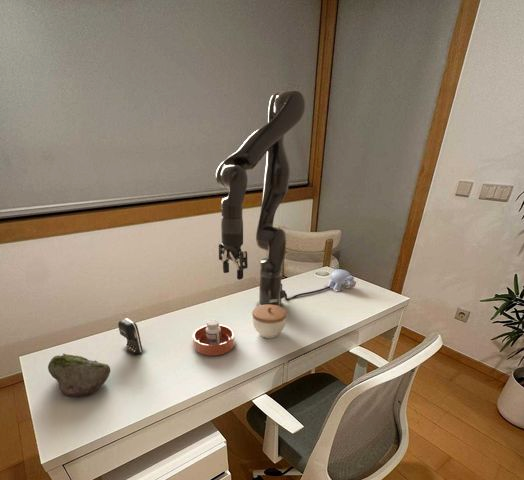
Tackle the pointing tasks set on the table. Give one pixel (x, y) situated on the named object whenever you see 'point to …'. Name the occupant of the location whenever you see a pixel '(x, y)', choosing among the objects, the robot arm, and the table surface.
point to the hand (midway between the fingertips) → (232, 275)
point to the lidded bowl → (269, 320)
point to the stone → (78, 374)
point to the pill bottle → (213, 333)
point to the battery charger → (131, 335)
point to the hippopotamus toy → (341, 279)
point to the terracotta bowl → (217, 349)
